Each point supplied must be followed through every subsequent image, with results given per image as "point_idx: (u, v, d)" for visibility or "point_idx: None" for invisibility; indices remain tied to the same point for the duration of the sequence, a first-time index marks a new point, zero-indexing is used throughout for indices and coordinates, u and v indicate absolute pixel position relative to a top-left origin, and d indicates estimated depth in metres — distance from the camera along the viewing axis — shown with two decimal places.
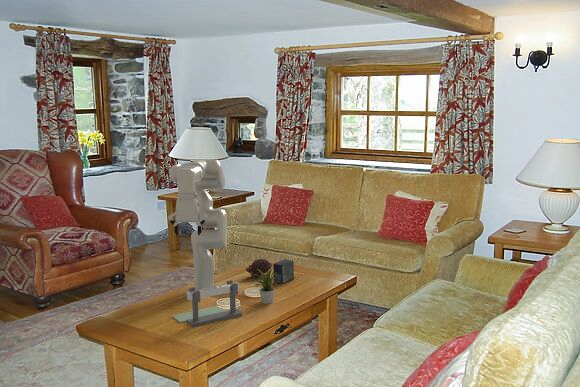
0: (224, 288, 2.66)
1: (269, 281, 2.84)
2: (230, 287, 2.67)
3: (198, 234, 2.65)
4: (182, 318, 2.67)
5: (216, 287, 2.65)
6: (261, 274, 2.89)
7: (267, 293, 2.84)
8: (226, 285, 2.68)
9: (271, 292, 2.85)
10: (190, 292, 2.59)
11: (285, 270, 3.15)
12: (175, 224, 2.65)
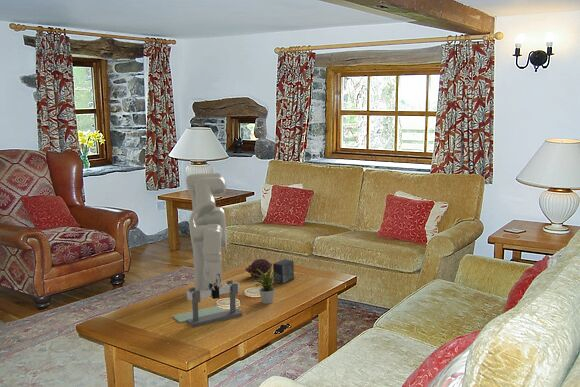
0: (224, 288, 2.66)
1: (269, 281, 2.84)
2: (230, 287, 2.67)
3: None
4: (182, 318, 2.67)
5: None
6: (261, 274, 2.89)
7: (267, 293, 2.84)
8: (226, 285, 2.68)
9: (271, 292, 2.85)
10: (190, 292, 2.59)
11: (285, 270, 3.15)
12: (218, 287, 2.63)
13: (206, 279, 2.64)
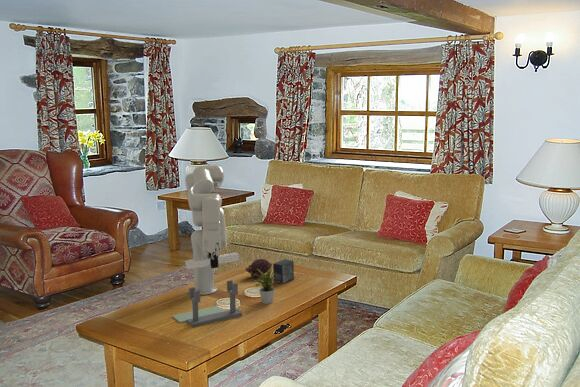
0: (223, 258, 2.64)
1: (269, 281, 2.84)
2: (229, 257, 2.65)
3: None
4: (182, 318, 2.67)
5: None
6: (261, 274, 2.89)
7: (267, 293, 2.84)
8: (225, 255, 2.66)
9: (271, 292, 2.85)
10: (189, 261, 2.57)
11: (285, 270, 3.15)
12: None
13: (204, 249, 2.62)
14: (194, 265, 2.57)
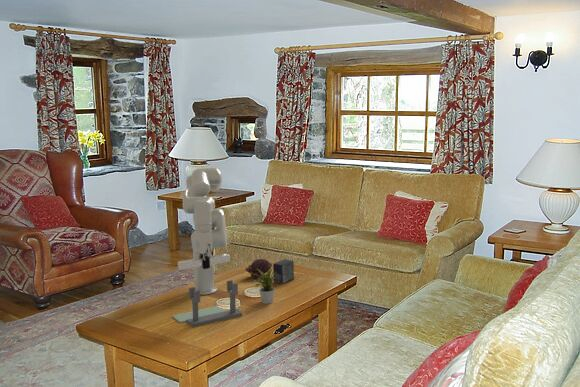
0: (214, 259, 2.71)
1: (269, 281, 2.84)
2: (220, 258, 2.73)
3: None
4: (182, 318, 2.67)
5: None
6: (261, 274, 2.89)
7: (267, 293, 2.84)
8: (217, 256, 2.73)
9: (271, 292, 2.85)
10: (181, 262, 2.64)
11: (285, 270, 3.15)
12: None
13: (196, 250, 2.69)
14: (186, 265, 2.64)
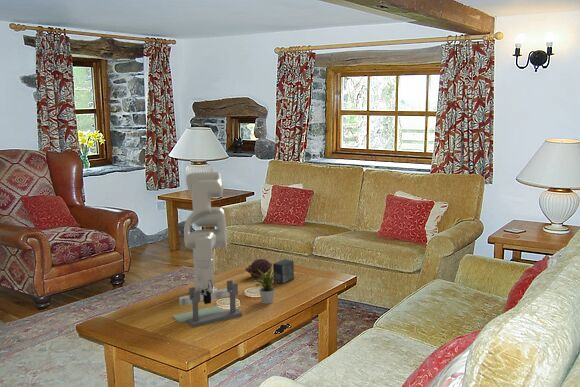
0: (216, 293, 2.74)
1: (269, 281, 2.84)
2: (221, 292, 2.75)
3: None
4: (182, 318, 2.67)
5: None
6: (261, 274, 2.89)
7: (267, 293, 2.84)
8: (218, 290, 2.76)
9: (271, 292, 2.85)
10: (182, 297, 2.67)
11: (285, 270, 3.15)
12: None
13: (198, 285, 2.72)
14: (188, 301, 2.67)
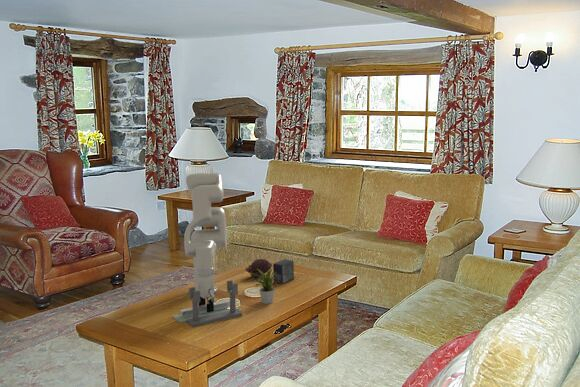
0: (216, 306, 2.75)
1: (269, 281, 2.84)
2: (222, 305, 2.77)
3: None
4: (182, 318, 2.67)
5: None
6: (261, 274, 2.89)
7: (267, 293, 2.84)
8: (218, 302, 2.77)
9: (271, 292, 2.85)
10: (183, 310, 2.68)
11: (285, 270, 3.15)
12: None
13: None
14: (188, 314, 2.68)
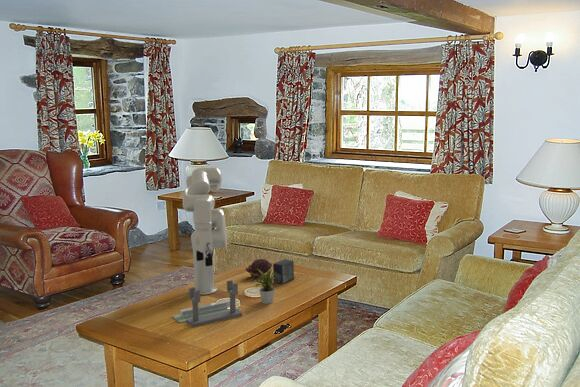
0: (216, 306, 2.75)
1: (269, 281, 2.84)
2: (222, 305, 2.77)
3: (203, 259, 2.76)
4: (182, 318, 2.67)
5: (208, 305, 2.75)
6: (261, 274, 2.89)
7: (267, 293, 2.84)
8: (218, 302, 2.77)
9: (271, 292, 2.85)
10: (183, 310, 2.68)
11: (285, 270, 3.15)
12: None
13: (196, 248, 2.70)
14: (188, 314, 2.68)
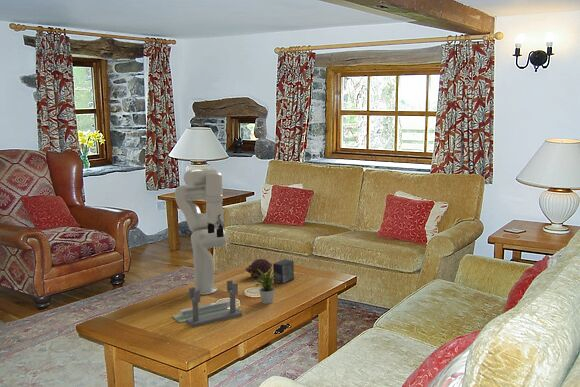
0: (216, 306, 2.75)
1: (269, 281, 2.84)
2: (222, 305, 2.77)
3: (214, 231, 2.87)
4: (182, 318, 2.67)
5: (208, 305, 2.75)
6: (261, 274, 2.89)
7: (267, 293, 2.84)
8: (218, 302, 2.77)
9: (271, 292, 2.85)
10: (183, 310, 2.68)
11: (285, 270, 3.15)
12: None
13: (208, 221, 2.80)
14: (188, 314, 2.68)
